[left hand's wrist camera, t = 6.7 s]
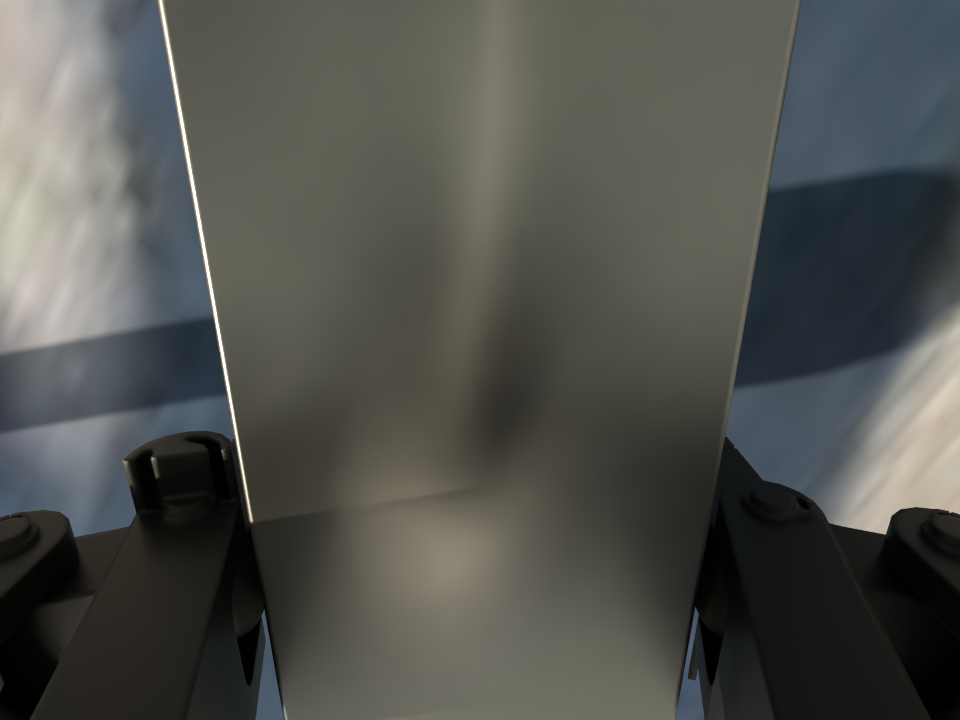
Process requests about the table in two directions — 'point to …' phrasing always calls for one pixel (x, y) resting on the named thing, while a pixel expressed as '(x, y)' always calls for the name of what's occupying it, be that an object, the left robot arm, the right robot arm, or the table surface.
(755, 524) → the left robot arm
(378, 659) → the bar
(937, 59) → the table surface
